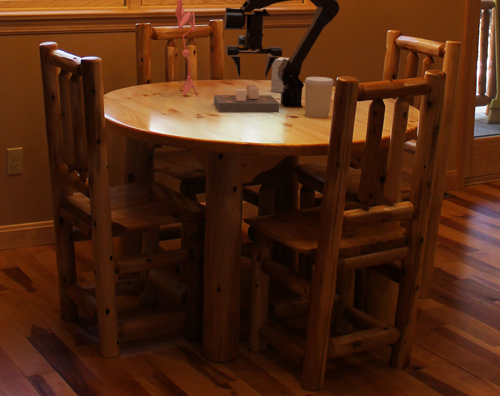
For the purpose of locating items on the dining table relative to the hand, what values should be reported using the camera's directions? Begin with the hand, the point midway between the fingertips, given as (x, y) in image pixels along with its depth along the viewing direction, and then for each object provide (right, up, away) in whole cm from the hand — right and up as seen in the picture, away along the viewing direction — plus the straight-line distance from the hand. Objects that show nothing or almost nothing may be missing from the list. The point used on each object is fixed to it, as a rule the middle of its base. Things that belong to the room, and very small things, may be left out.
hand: (252, 76), depth 241 cm
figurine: (-27, -3, +20) cm, 34 cm away
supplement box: (+12, 0, +33) cm, 35 cm away
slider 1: (-4, -9, -7) cm, 12 cm away
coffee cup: (+21, -14, -8) cm, 27 cm away
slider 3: (0, -8, -2) cm, 8 cm away
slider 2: (0, -6, +3) cm, 7 cm away
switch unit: (-2, -11, -1) cm, 11 cm away
